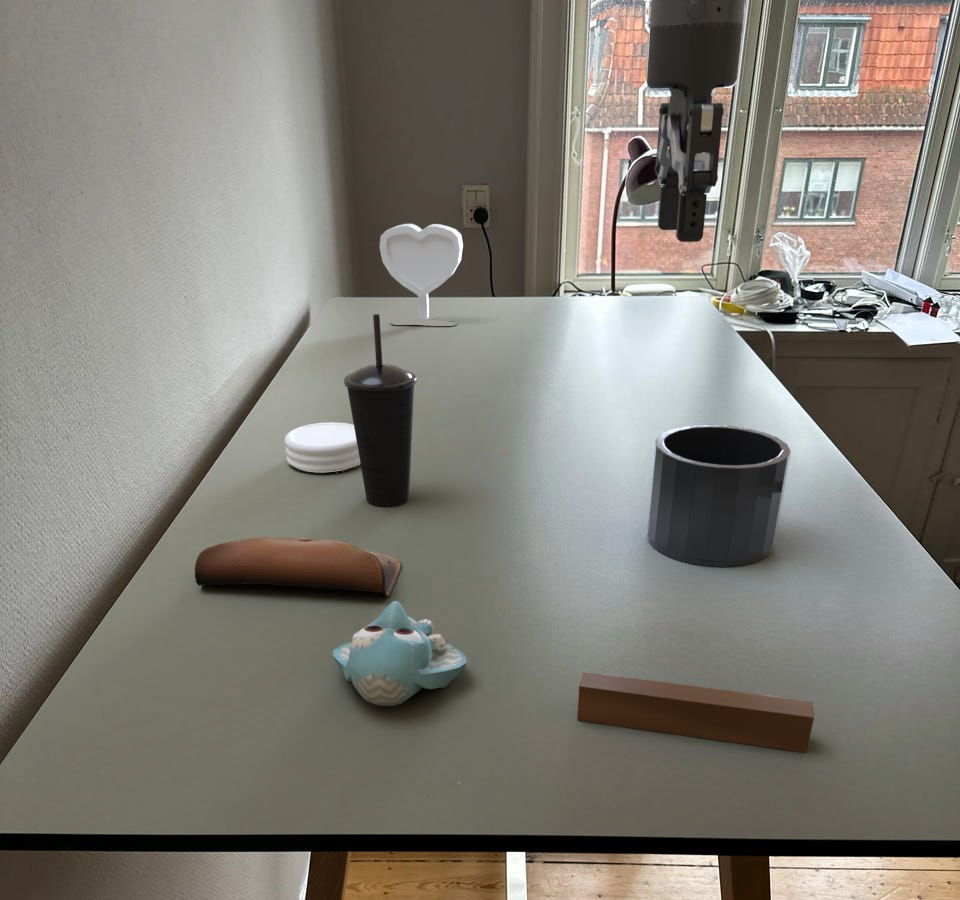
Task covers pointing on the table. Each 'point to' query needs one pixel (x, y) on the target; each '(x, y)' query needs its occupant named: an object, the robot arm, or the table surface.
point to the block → (696, 711)
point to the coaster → (323, 447)
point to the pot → (716, 494)
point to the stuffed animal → (397, 658)
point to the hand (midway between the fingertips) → (678, 235)
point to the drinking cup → (383, 426)
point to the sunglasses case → (297, 564)
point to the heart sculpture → (421, 258)
